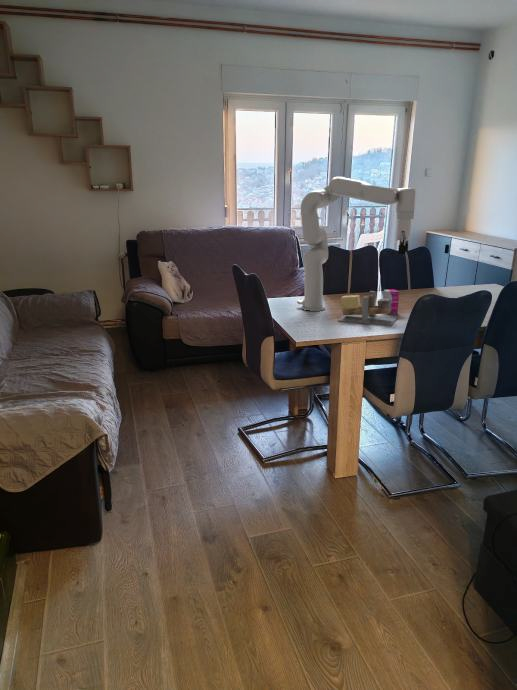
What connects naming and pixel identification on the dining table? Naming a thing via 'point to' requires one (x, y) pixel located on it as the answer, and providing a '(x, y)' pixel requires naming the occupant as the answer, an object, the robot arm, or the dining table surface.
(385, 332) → the dining table surface
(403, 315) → the dining table surface
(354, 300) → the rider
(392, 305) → the supplement box
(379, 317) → the stand
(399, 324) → the dining table surface
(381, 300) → the beam
